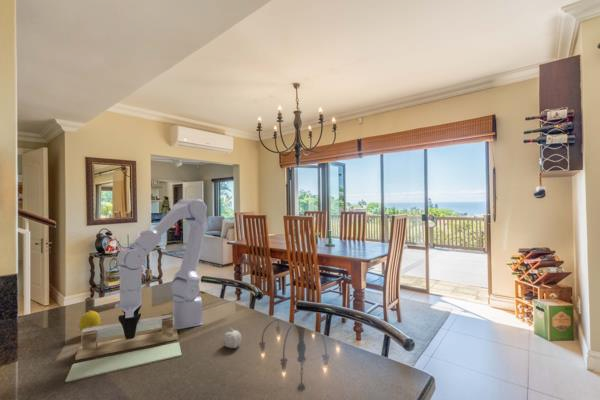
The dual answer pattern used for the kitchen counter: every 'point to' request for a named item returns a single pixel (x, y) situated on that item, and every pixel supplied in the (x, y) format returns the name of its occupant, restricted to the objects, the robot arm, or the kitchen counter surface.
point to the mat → (123, 361)
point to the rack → (124, 341)
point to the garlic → (232, 338)
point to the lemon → (89, 320)
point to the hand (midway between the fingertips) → (130, 333)
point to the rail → (118, 329)
